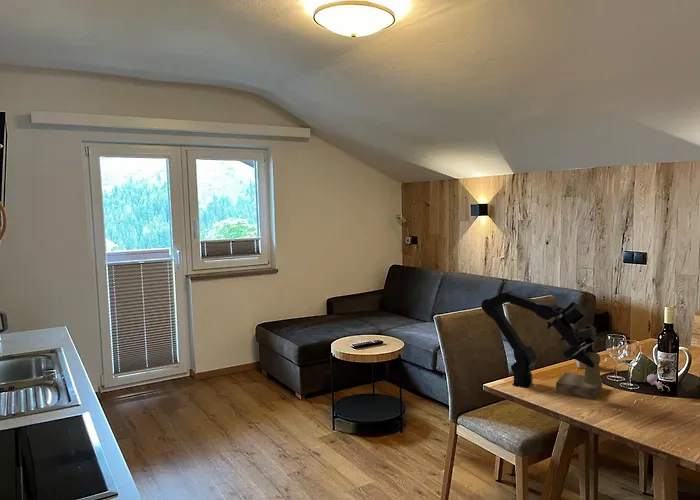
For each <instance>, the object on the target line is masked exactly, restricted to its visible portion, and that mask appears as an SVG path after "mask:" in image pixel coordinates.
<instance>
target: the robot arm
mask: <svg viewBox="0 0 700 500" xmlns="http://www.w3.org/2000/svg"><path fill="white" fill-rule="evenodd" d="M506 303H509V304H512V305H515V306H517V307H519V308H522V309H525V310H528V311H531V312H533V314H535V315H536V316H537V317H539V318H541V319H543V320H546V321H547V328H546V329H547V330H549V329H552V328H553V329H554V330H555V331H556V332H557V334H559V336H560V337H561V338H560V340H561V341H562V342H565V343H566V344H567V345H568V346H569V347H567V348H566V349H565V350H564V351H563V352H562V353H563V354H562V356H564V358H565V359H566V360H568V359H570V358H571V360H572V359H574V360H576V361H579V362H581V363H584V364H585V365H587V366H589V367H591V368H593V367H595V366H594V364H593V363H592V361H591V360H590V358H589V357H588V355H587V354H586V353H589V352H594V353H596V351H595V344H596V343H595V342H596V341H597V340H598V339H597V338H596V337H595V336H597V332H596V331H597V328H596V327H595V326H593V325H592V324H587V325H585V328H582V329H581V330H580V329H579V328H577V327H574V326H573V325H576V324H578V323H579V322H581V321H582V320H584V318H585V317H587V316H588V312H587V311H586V309H585V308H584V307H583V306H582V305H581V304H578V303H576V301H572V302H571V303H569V304H568V306H567V307H561V306H558V305H557V304H556V303H554V302H549V301H539V300H535V299H532V298H530V297H527V296H523V295H522V294H518V293H515V292H512V291H511V290H505V291H502V292H501V293H500V294H498V295H495V296H492V297H489V298H485V299H483V300H482V301H481V309H482V311H483V312H484V313H485V314H486V316H488V317H489V318H491V319H492V320H493V321H494V322H495V324H496V325H497V327H498V329H499V330H500V332H501V334H502V335H503V336H504V338H505V339H506V341H507V343H508V344H509V346H510V347H511V349H512V350H513V351H512V353H513V358H514V360H515V362H514V363H513V364H512V365H511V366H510V369H511V371H512V372H513V383H512V385H511V386H516V387H521V388H522V387H523V388H527V389H528V388H529V387H531V386H532V385H533V373H532V370H531V369H533V367H534V365H536V363H537V361H538V358H537V353H536V352H535V351H534V348H533V347H532V346H531V345H528V346H526V344H524V343H523V341H522V340H521V338H520V337H519V335H518V333H517V332H516V330H515V329H514V327H513V326H512V324H511V323H510V321H509V320H508V318H507V316H506V315H505V311H504V305H505V304H506ZM559 316H560V317H559ZM551 319H553V320H551ZM549 320H550V321H549ZM571 356H572V357H571ZM600 363H601V362H599V364H600Z"/></svg>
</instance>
